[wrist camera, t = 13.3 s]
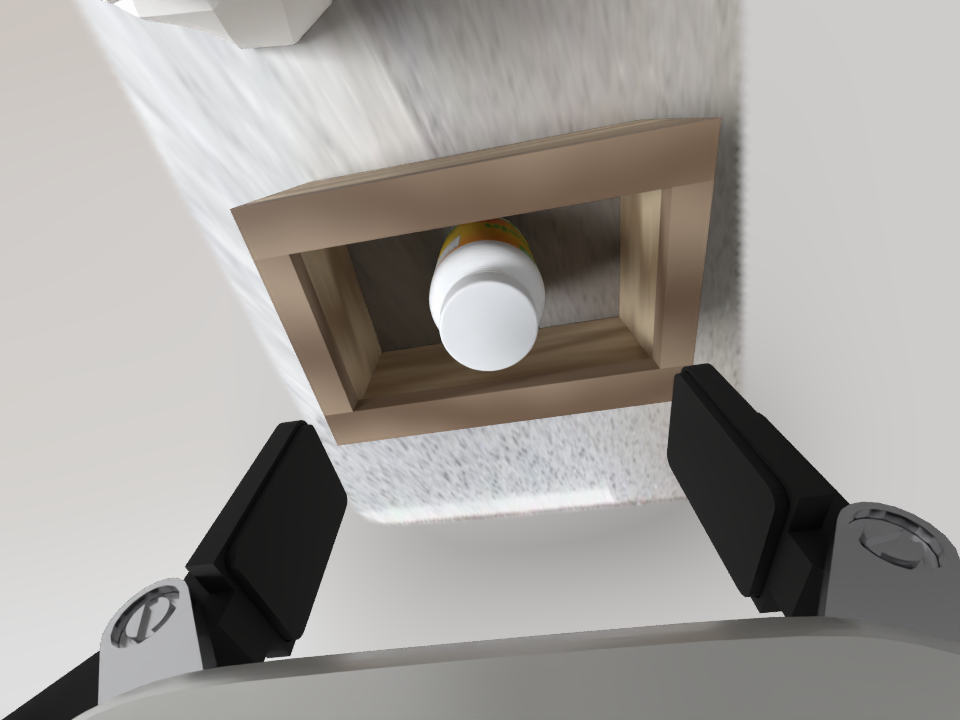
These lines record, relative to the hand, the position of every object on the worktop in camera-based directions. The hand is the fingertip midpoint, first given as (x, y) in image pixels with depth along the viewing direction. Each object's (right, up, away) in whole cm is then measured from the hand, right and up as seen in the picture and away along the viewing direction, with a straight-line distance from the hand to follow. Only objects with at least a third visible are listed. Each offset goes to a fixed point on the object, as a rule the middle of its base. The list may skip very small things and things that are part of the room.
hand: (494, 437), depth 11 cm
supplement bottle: (0, +8, +14) cm, 16 cm away
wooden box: (0, +8, +14) cm, 16 cm away
